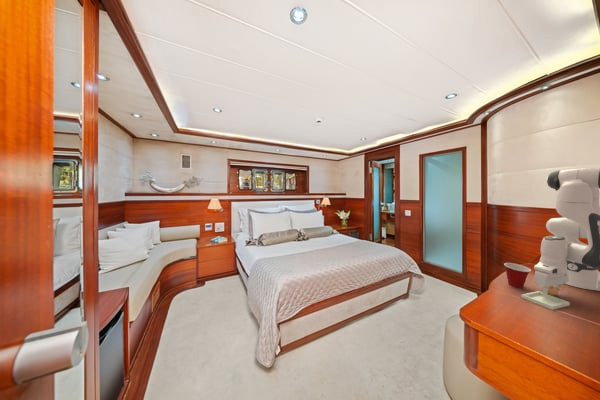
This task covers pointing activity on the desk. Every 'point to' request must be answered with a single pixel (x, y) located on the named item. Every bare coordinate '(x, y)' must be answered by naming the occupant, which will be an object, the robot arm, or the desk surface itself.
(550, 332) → the desk surface
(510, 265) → the plastic cup
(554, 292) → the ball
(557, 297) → the coaster
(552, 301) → the tray
